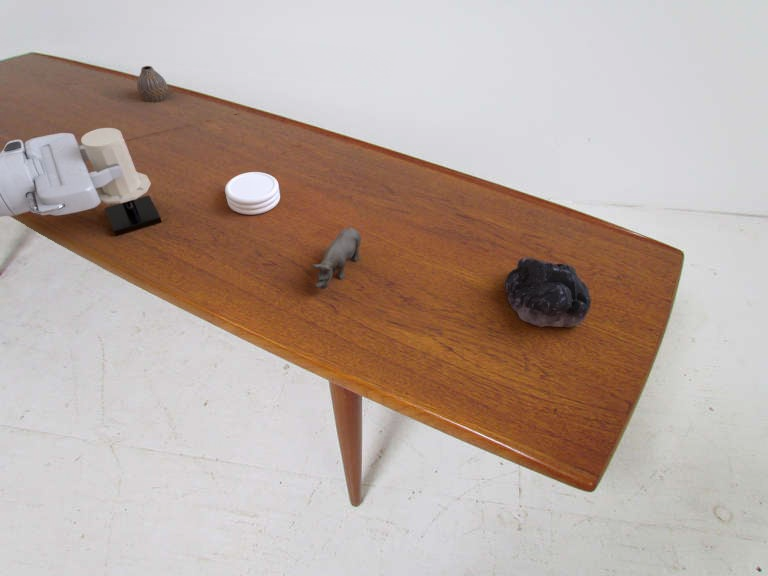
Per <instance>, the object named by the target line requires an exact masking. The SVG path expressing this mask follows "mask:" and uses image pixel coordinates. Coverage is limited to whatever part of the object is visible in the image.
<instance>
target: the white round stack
mask: <svg viewBox="0 0 768 576" xmlns="http://www.w3.org/2000/svg"><path fill="white" fill-rule="evenodd" d="M279 185H280V184H279V182H278V180H277V178H275V177H274V176H272V175H271V174H268V173H265V172H261V171H251V172H250V171H249V172H245V173H244V172H243V173H240V174H238V175H235V176H234V177H232V178H231V179H229V181H228V182H227V183H226V185H225V187H224V193H225V196H226V197H225V198H226V201H227V205H228V206H229V208H230V209H231V210H232V211H233V212H236V213H238V214H242V215H247V216H253V215H261V214H265V213H267V212H269V211H270V210H272V209H274V208H275V207H276V206H277V205H278V204H279V203H280V200H281V193H280V186H279Z"/></svg>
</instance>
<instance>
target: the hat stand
mask: <svg viewBox="0 0 768 576" xmlns="http://www.w3.org/2000/svg"><path fill="white" fill-rule="evenodd" d="M150 196H151V195H145V196H140V197H138V198H137V199H135V200H131V201H128V202H124V203H115V204H113V205H109V206H106V207H104V211H105V213H106V217H107V218H108V221H109V223H110V226H111V229H112V231H113V233H114V235H115V237H119V236H121V235H124V234H125V235H126V234H128V233H131V232H134V231H135V232H136V231H138V230H141V229H144V228H147V227H151V226H155V225H158V224H161V223H163V221H162V218H161V215H160V214H159V211H158V210H157V208H156V206H155V204H154V202H153V200H152V198H151V197H150Z"/></svg>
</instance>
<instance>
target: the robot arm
mask: <svg viewBox="0 0 768 576" xmlns="http://www.w3.org/2000/svg"><path fill="white" fill-rule="evenodd" d="M86 161H90V160H89V158H88V156H87V153H86V151H85V149H84V147H83V144H81V145H79V142H78V140H77V138H76V137H75V134H73V133H70V132H60V133H59V132H58V133H53V134H48V135H42V136H37V137H33V138H30V139H28V140H26V141H25V142H23V140H21V139H12V140H9V141H8V142H7V143H6V144H5V146H4V148H3V149H2V151H0V218H2V217H14V216H18V215H21V214H25V213H29V212H31V213H33V214H37V215H40V216H46V215H51V216H64V215H71V214H76V213H81V212H85V211H89V210H93V209H95V208H96V207H98V206H99V205H101V203H102V201H100V198H99V196H98V193H97V191H96V188H99V187H103V186H105V185H106V184H107V183H109V182H110V181H112V180H113V179H116V178H119V177H122V176H123V172H122V169H121V167H120V165H119V164H117V163H116V164H113V165H107V167H108V168H106V169H104V170H102V171H100V172H98V173H97V171H91V172H90V170H89V168H88V165H87V163H86Z"/></svg>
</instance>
